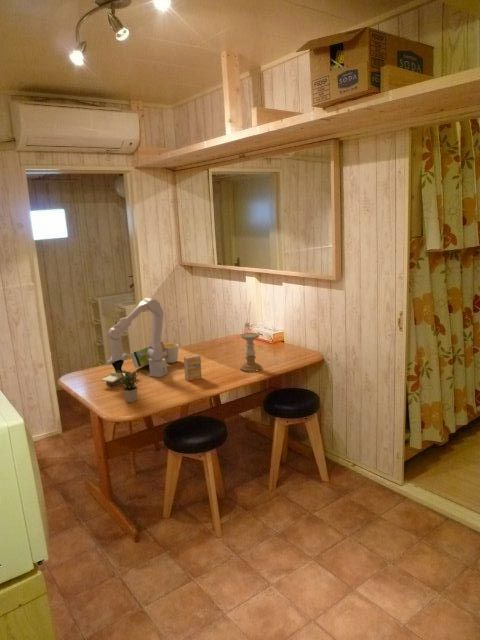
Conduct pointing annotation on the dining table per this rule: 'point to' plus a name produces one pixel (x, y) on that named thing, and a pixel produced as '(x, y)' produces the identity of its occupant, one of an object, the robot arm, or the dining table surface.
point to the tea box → (144, 356)
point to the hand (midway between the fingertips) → (118, 373)
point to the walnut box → (121, 379)
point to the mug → (171, 352)
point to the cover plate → (113, 377)
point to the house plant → (129, 387)
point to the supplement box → (192, 367)
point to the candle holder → (250, 353)
